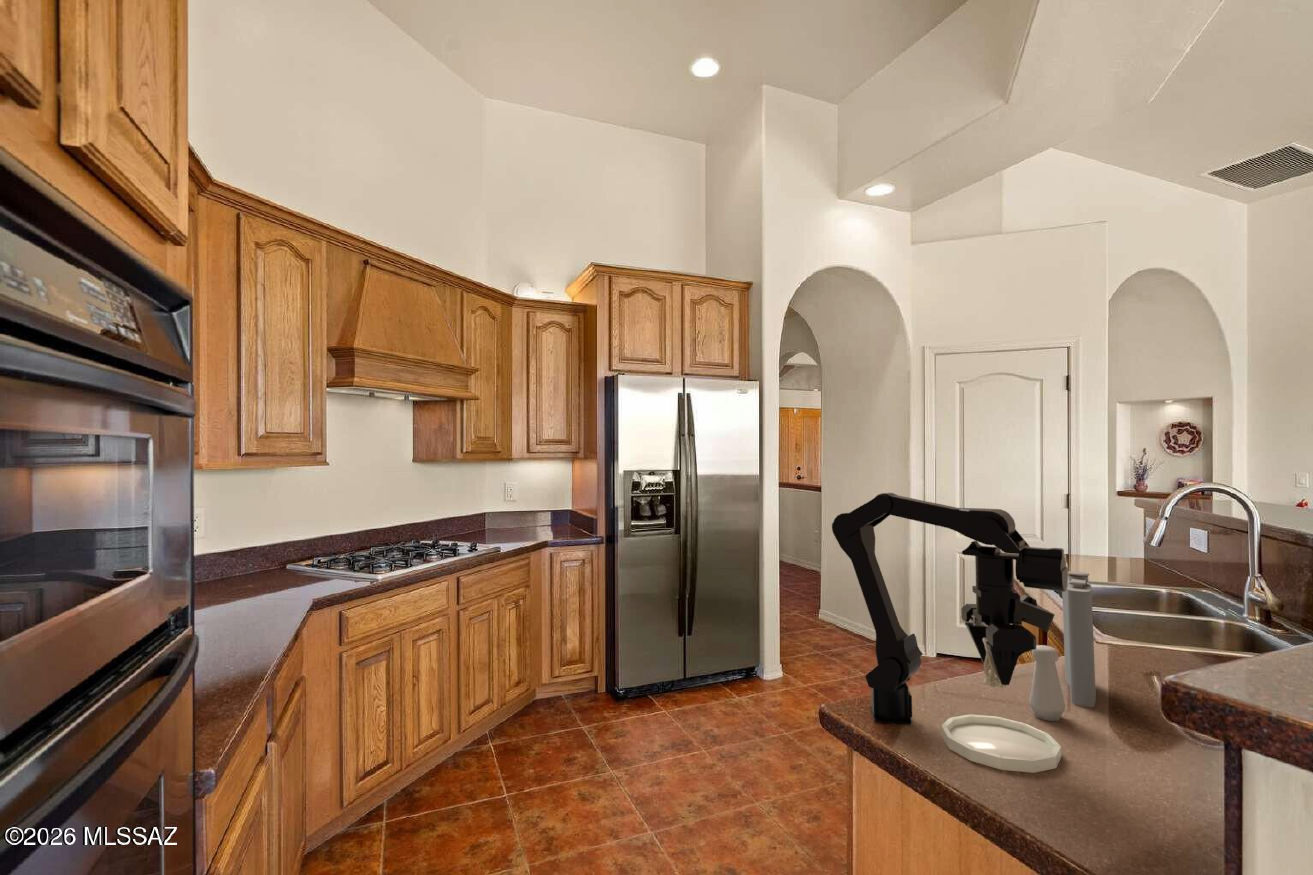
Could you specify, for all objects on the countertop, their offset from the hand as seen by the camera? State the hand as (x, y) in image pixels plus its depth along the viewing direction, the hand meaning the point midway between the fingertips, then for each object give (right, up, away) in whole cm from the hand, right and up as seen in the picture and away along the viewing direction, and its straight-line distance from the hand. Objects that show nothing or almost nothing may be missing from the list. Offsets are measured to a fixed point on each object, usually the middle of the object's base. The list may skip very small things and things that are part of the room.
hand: (996, 675), depth 103 cm
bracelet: (0, -2, 0) cm, 2 cm away
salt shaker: (+16, -12, +11) cm, 23 cm away
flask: (+31, -13, +23) cm, 41 cm away
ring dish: (0, -12, -1) cm, 12 cm away
